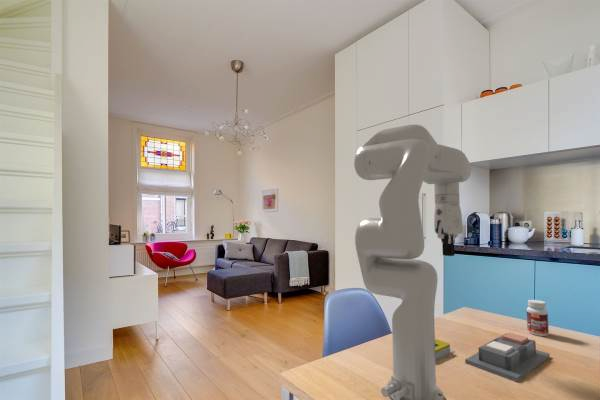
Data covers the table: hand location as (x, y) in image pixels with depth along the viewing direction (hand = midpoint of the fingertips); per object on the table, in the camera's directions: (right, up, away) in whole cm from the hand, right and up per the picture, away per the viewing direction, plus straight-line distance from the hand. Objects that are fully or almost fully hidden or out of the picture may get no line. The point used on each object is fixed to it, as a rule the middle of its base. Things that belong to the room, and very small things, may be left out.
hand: (448, 255), depth 104 cm
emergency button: (-10, -30, -7) cm, 32 cm away
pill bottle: (+36, -30, +8) cm, 47 cm away
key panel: (+12, -28, -12) cm, 33 cm away
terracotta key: (+16, -26, -9) cm, 32 cm away
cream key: (+7, -26, -15) cm, 31 cm away
